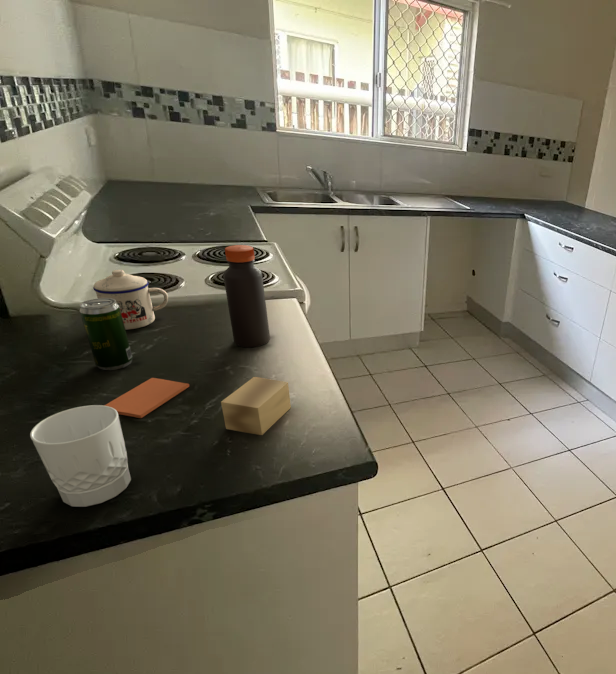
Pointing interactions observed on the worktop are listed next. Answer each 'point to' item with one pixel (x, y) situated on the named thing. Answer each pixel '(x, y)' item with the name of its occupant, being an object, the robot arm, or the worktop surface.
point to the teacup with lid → (130, 297)
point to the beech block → (256, 405)
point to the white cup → (84, 454)
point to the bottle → (245, 297)
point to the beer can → (106, 333)
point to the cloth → (146, 397)
